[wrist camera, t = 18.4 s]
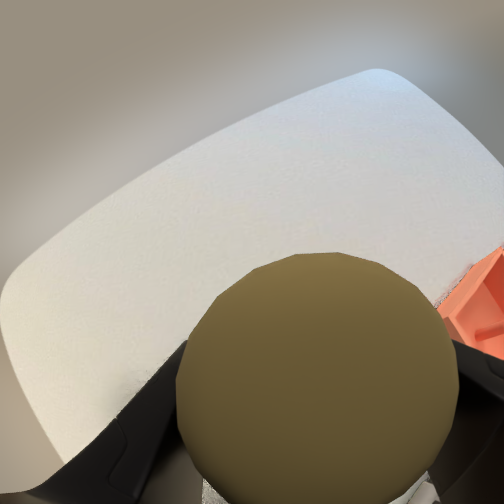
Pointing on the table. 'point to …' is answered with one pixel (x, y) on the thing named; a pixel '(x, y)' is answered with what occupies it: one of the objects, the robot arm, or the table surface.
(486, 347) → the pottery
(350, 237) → the table surface
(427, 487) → the dark grey drawer
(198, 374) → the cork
